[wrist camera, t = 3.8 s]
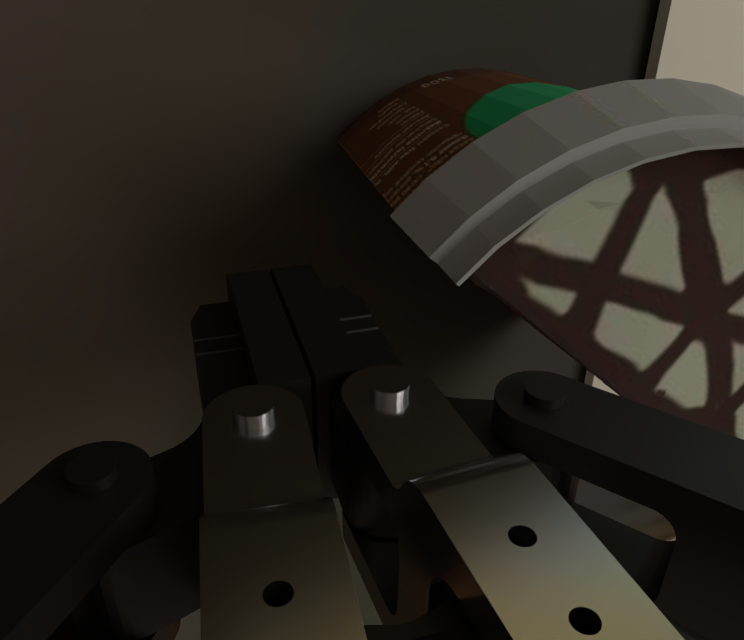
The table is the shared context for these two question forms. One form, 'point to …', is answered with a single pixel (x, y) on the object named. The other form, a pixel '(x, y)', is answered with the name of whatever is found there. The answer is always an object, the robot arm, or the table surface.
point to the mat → (696, 54)
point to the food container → (584, 219)
